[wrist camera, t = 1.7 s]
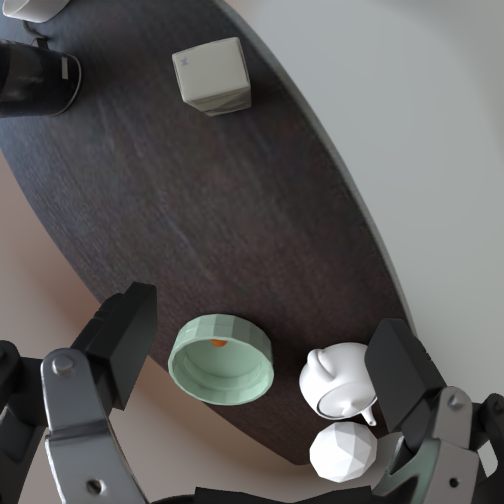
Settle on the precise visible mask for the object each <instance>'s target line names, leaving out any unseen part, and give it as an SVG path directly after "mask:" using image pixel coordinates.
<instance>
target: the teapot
mask: <svg viewBox="0 0 504 504" xmlns="http://www.w3.org/2000/svg"><path fill="white" fill-rule="evenodd" d="M367 347H368V346H366V345H363V344H360V343H352V342H349V343H340V344H336V345H333V346H330V347H327V348H325V349H323V350H322V349H314V350H312V351H311V352H310V353H309V354H308V362H307V363H306V364H305V366H304V367H303V369H302V372H301V374H300V380H299V382H300V389H301V391H302V393H303V395H304V397H305V399H306V401H307V402H308V403H309V405H310V406H311V407H312V408H313V409H314V410H315V411H316V412H317V413H318V414H319V415H320V416H322V417H324V418H327V419H344V418H349V417H352V416H355V415H357V414H359V413H361V414H362V415H363V416H364V418H365V419H366V421H367V422H368V424H369V425H371V426H374V425H376V421H375V419H374V418H373V415H372V410H371V406H372V405H373V404H374V403H375V401H376V400H377V396H376V393H375V390H374V388H373V385H372V382H371V380H370V377H369V374H368V372H367V369H366V366H365V362H364V356H365V352H366V349H367Z"/></svg>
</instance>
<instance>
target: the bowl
mask: <svg viewBox="0 0 504 504" xmlns="http://www.w3.org/2000/svg"><path fill="white" fill-rule="evenodd" d="M210 339H217V340H225V341H228V342H227V343H226V345H224V346H222V347H217V346H215V345H213V344H212V342H211V340H210ZM168 366H169V373H170V375H171V376H172V378H173V380H174V382H175V383H176V384H177V385H178V386H179V387H180V388H181V389H182V390H183V391H184V392H186V393H188V394H189V395H191V396H193V397H195V398H197V399H199V400H202V401H205V402H208V403H211V404H219V405H238V404H243V403H247V402H250V401H253V400H255V399H257V398H259V397H260V396H262V395H264V394H265V393H266V391H267V390H268V389H269V388H270V386H271V385H272V381H273V377H274V363H273V350H272V346H271V342H270V340H269V339H268V337H267V336H266V334H265V333H264V332H263V331H262V330H261V329H260V328H258V327H257V326H256V325H254V324H253V323H251V322H250V321H247V320H244V319H242V318H239V317H236V316H232V315H224V314H212V315H205V316H200V317H198V318H196V319H194V320H192V321H189V322H188V323H187V324H186V325H185V326H184V327H183V328H182V329H181V330H180V331H179V333H178V336H177V339H176V341H175V344H174V347H173V349H172V352H171V355H170V358H169V360H168Z"/></svg>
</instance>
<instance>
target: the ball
mask: <svg viewBox="0 0 504 504" xmlns="http://www.w3.org/2000/svg"><path fill="white" fill-rule="evenodd" d="M210 340H211V342H212V344H213V345H215V346H217V347H222V346H224V345H226V343H227V342H228V341H225V340H217V339H210Z"/></svg>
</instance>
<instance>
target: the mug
mask: <svg viewBox="0 0 504 504" xmlns="http://www.w3.org/2000/svg"><path fill="white" fill-rule="evenodd" d="M69 1H70V0H5V1H4V4H3V13H4V15H6V16H8V17H14V18H19V19H23V20H28V21H32V22H36V23H42V22H46V21H47V20H49V19H51V18H53V17H54V16H55V15H56V14H58V13H59V12H60V11H61V10H62V9H63V8H64V7H65V6H66V4H67V3H68V2H69Z"/></svg>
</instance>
